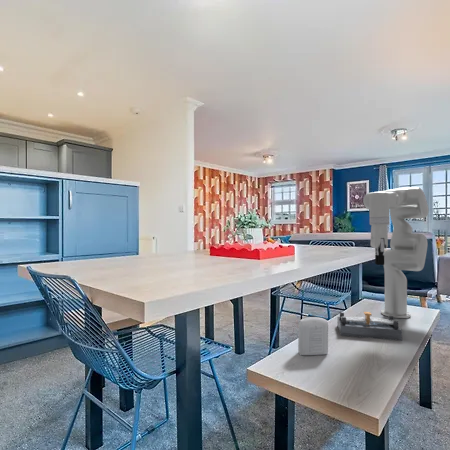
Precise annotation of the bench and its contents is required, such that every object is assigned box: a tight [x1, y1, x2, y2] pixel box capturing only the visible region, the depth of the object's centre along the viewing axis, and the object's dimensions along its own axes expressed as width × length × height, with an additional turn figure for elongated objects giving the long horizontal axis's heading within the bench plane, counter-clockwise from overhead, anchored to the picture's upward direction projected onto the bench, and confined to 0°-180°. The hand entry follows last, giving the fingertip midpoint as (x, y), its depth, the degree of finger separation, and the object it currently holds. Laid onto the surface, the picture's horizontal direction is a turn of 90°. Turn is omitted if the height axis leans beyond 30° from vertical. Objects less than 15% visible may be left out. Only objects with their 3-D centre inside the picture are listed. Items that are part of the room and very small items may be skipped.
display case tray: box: [336, 311, 403, 341], centre depth 127 cm, size 12×22×8 cm, turn 76°
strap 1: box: [341, 315, 366, 322], centre depth 128 cm, size 9×5×1 cm, turn 76°
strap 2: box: [370, 316, 395, 325], centre depth 125 cm, size 9×5×1 cm, turn 76°
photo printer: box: [297, 316, 329, 356], centre depth 107 cm, size 10×4×12 cm, turn 98°
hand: (379, 264), depth 132 cm, fingers closed
